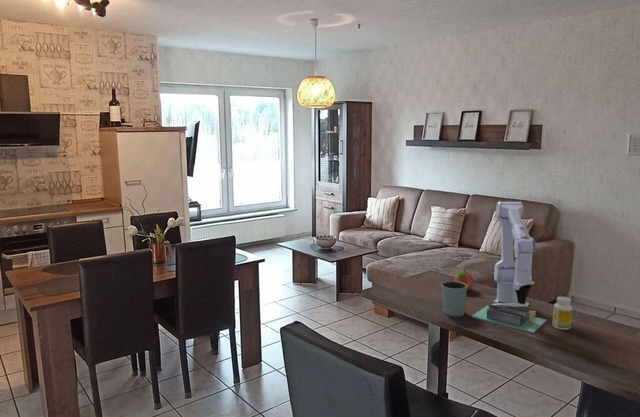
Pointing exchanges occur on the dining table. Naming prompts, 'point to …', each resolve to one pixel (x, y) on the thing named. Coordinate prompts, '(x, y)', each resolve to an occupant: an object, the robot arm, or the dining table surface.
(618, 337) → the dining table surface
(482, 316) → the circuit board
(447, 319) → the dining table surface
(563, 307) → the supplement bottle
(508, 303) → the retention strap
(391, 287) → the dining table surface
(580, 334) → the dining table surface
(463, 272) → the fruit
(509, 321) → the heat sink
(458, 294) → the green cup
